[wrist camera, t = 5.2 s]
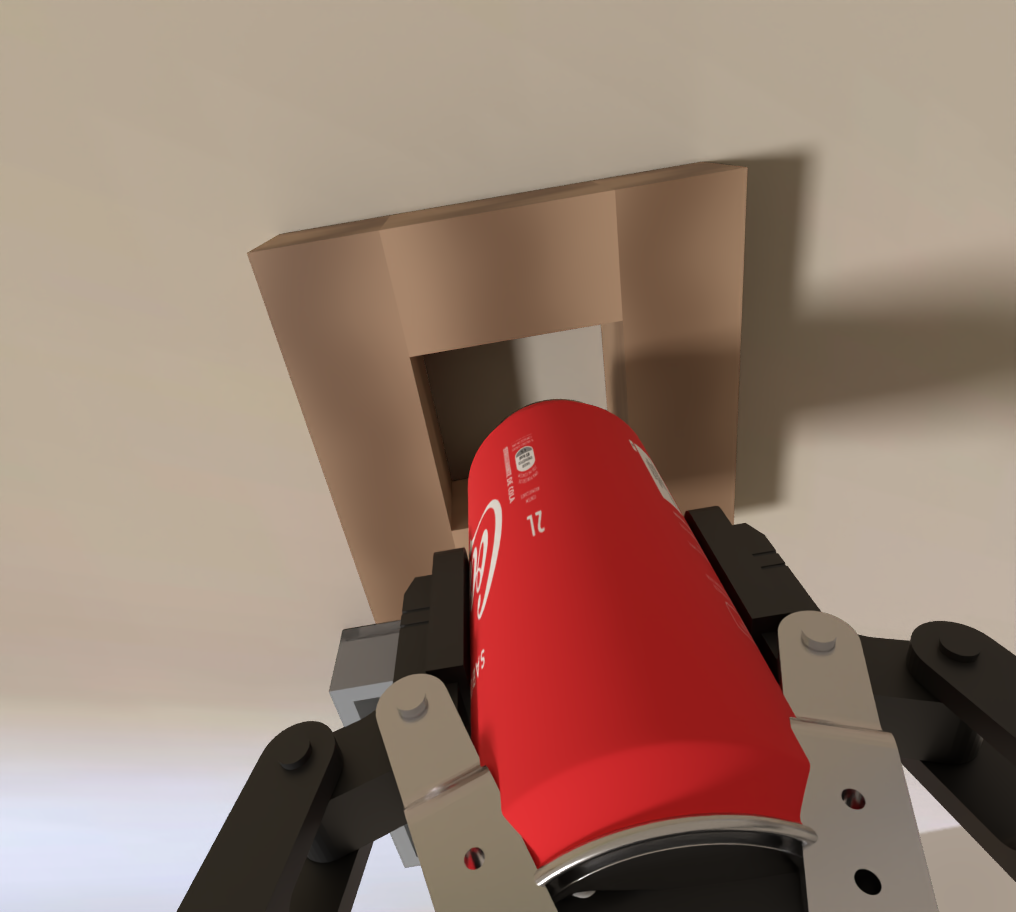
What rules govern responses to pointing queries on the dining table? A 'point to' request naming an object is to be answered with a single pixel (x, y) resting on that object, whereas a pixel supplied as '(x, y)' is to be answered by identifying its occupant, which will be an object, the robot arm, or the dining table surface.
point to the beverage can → (617, 671)
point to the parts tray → (369, 691)
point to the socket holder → (505, 316)
